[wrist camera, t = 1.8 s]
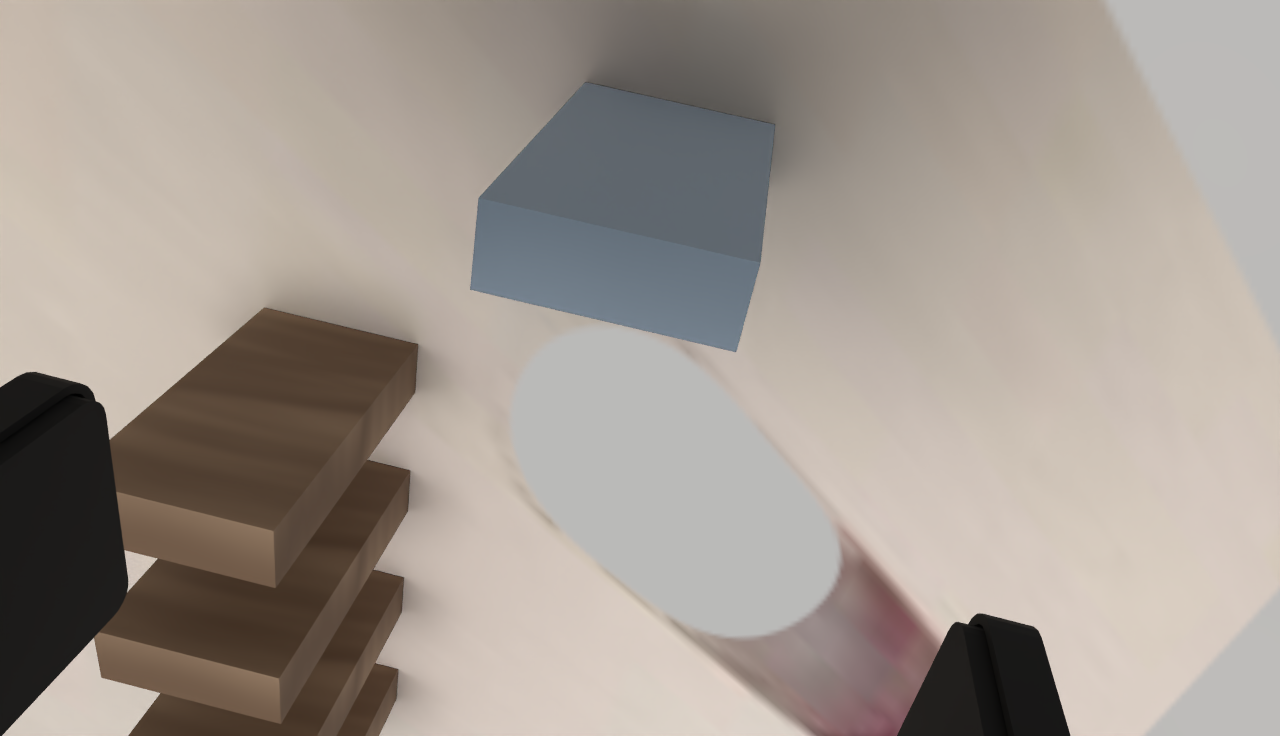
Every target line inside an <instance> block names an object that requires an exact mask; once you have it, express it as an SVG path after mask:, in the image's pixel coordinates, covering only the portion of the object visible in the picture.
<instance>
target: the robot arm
mask: <svg viewBox="0 0 1280 736" xmlns="http://www.w3.org/2000/svg"><path fill="white" fill-rule="evenodd" d="M127 589H128V575H127V567H126V560H125V553H124V545H123V538H122V530H121V523H120V515H119V508H118V501H117V493H116V486H115V478H114V471H113V463H112V456H111V449H110V441H109V434H108V426H107V419H106V413H105V410H104V407H103V406H102V405H101V404H100V403H99V402H96V401H95V397H94V394H93V392H92V391H91V390H90V388H89V387H88V386H85V385H83V384H80V383H77V382H73V381H69V380H65V379H61V378H57V377H53V376H49V375H45V374H41V373H37V372H27V373H24V374H22V375H20V376H18V377H16V378H14V379H13V380H11V381H10V382H8V383H6V384H5V385H3V386H2V387H0V736H2V735H3V734H4V733H5V732H6V731H7V730H8V728H9V727H10V726H11V725H12V724H13V723H14V722H15V721H16V720H17V719H18V718H19V717H20V716H21V715H22V714H23V712H24V711H25V710H26V709H27V708H28V707H29V706H30V705H31V704H32V703H33V702H34V701H35V700H36V699H37V698H38V696H39V695H40V694H41V693H42V692H43V691H44V690H45V689H46V688H47V687H48V686H49V685H50V684H51V683H52V682H53V681H54V679H55V678H56V677H57V676H58V675H59V674H60V673H61V672H62V671H63V670H64V669H65V668H66V667H67V666H68V665H69V663H70V662H71V661H72V660H73V659H74V658H75V657H76V656H77V655H78V654H79V653H80V652H81V651H82V650H83V649H84V647H85V646H86V645H87V644H88V643H89V642H90V641H91V640H92V639H93V638H94V637H95V636H96V635H97V634H98V633H99V631H100V630H101V629H102V628H103V627H104V626H105V625H106V624H107V623H108V622H109V621H110V620H111V619H112V618H113V617H114V615H115V614H116V613H117V612H118V610H119V609H120V607H121V605H122V604H123V602H124V599H125V597H126V594H127ZM897 736H1070V733H1069V729H1068V726H1067V722H1066V719H1065V716H1064V712H1063V709H1062V705H1061V702H1060V699H1059V695H1058V692H1057V688H1056V685H1055V682H1054V678H1053V675H1052V671H1051V668H1050V665H1049V661H1048V658H1047V654H1046V651H1045V647H1044V644H1043V641H1042V638H1041V636H1040V633H1039V631H1038V630H1037V629H1036V628H1035V627H1033V626H1029V625H1025V624H1021V623H1017V622H1013V621H1009V620H1006V619H1002V618H998V617H994V616H990V615H986V614H976V615H975V616H974V617H973V618H972V619H971V621H970V622H969V624H964V623H960V622H955V623H954V624H953V625H952V626H951V628H950V629H949V631H948V633H947V635H946V637H945V639H944V641H943V643H942V645H941V647H940V649H939V651H938V653H937V655H936V657H935V659H934V661H933V663H932V665H931V668H930V670H929V672H928V674H927V676H926V678H925V680H924V682H923V684H922V686H921V688H920V690H919V692H918V694H917V696H916V698H915V700H914V702H913V704H912V706H911V708H910V710H909V712H908V714H907V716H906V718H905V720H904V723H903V725H902V727H901V729H900V731H899V733H898V735H897Z"/></svg>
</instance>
